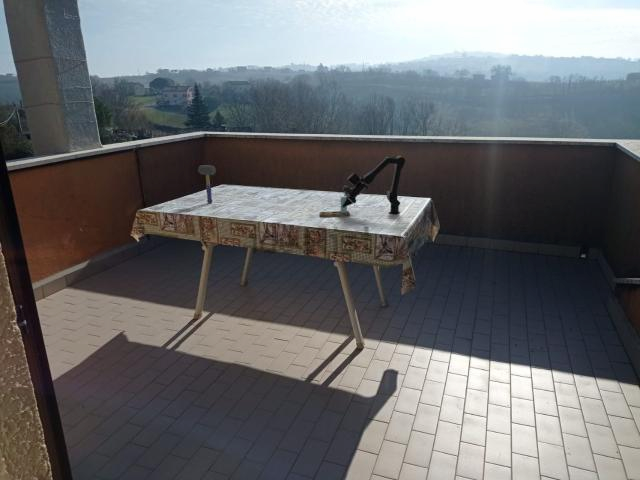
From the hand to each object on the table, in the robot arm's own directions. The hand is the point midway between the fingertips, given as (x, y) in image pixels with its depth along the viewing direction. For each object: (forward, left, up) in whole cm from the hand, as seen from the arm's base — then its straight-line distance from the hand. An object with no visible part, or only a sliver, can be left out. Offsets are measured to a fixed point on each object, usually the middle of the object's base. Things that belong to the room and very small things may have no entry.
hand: (341, 205), depth 317 cm
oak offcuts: (+5, -7, -7) cm, 11 cm away
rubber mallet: (+9, -111, -7) cm, 111 cm away
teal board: (-1, +1, -7) cm, 7 cm away
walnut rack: (+3, -4, -7) cm, 8 cm away
